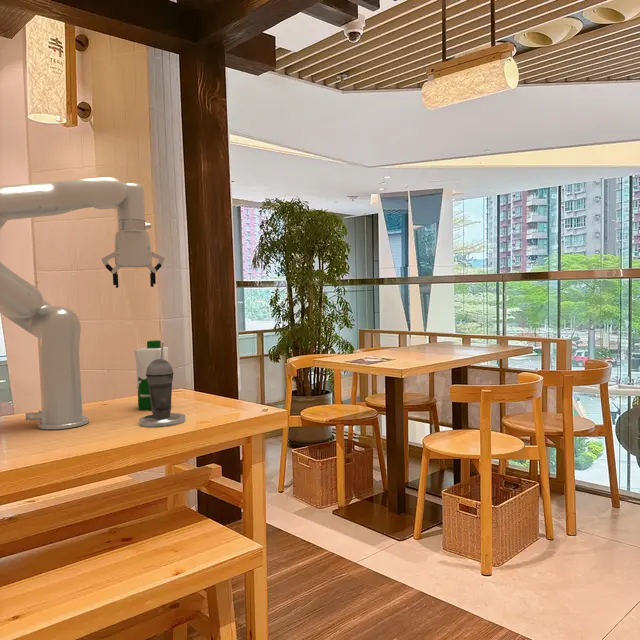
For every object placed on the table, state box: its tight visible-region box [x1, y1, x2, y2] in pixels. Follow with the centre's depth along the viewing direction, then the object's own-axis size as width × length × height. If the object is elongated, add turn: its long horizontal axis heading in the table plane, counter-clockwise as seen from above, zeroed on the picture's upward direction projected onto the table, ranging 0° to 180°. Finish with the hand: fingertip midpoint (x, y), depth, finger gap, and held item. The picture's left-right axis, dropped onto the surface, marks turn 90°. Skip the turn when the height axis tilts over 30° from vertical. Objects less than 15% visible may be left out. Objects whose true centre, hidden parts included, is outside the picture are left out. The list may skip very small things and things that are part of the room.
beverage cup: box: [146, 342, 175, 419], centre depth 159 cm, size 7×7×20 cm
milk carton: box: [133, 339, 169, 411], centre depth 179 cm, size 9×9×20 cm
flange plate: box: [138, 412, 187, 428], centre depth 159 cm, size 12×12×1 cm
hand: (134, 287), depth 172 cm, fingers open, 9 cm apart
